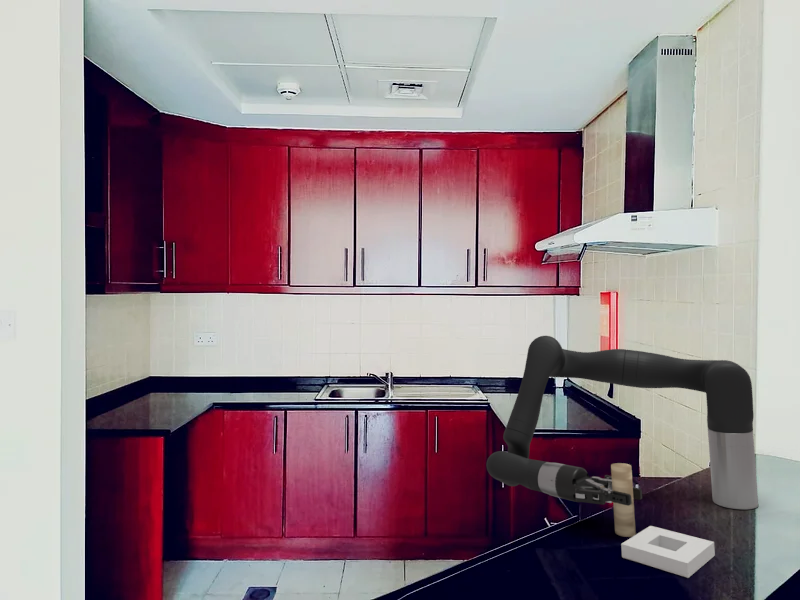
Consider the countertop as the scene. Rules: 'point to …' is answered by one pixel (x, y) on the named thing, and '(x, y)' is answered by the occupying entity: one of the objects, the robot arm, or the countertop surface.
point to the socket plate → (668, 550)
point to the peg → (622, 513)
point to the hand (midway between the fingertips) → (635, 497)
